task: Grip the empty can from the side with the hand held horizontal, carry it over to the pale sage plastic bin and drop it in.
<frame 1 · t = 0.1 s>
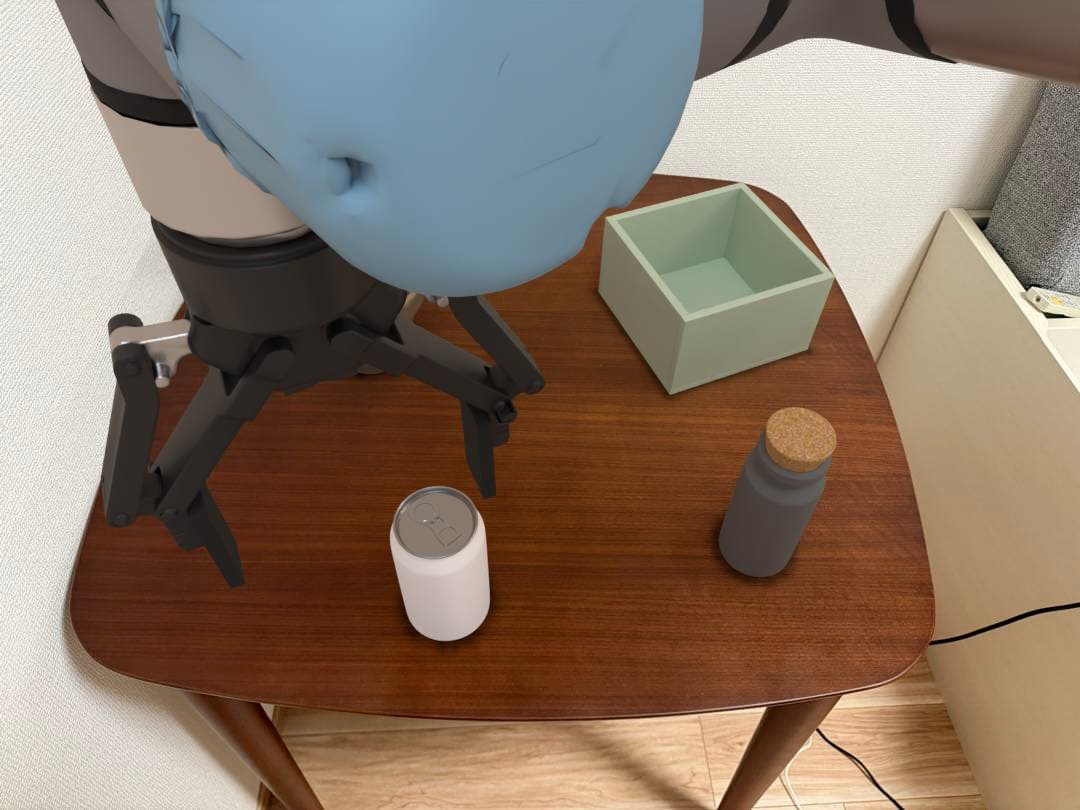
hand: (362, 520, 44), 21 cm above the table, tool pointing down, fingers open, 13 cm apart
bin: (699, 319, 84), on the table
cup: (300, 271, 88), on the table
decorative fruit: (478, 232, 93), on the table
can: (448, 605, 63), on the table
bottle: (753, 547, 67), on the table
flower pot: (374, 354, 80), on the table
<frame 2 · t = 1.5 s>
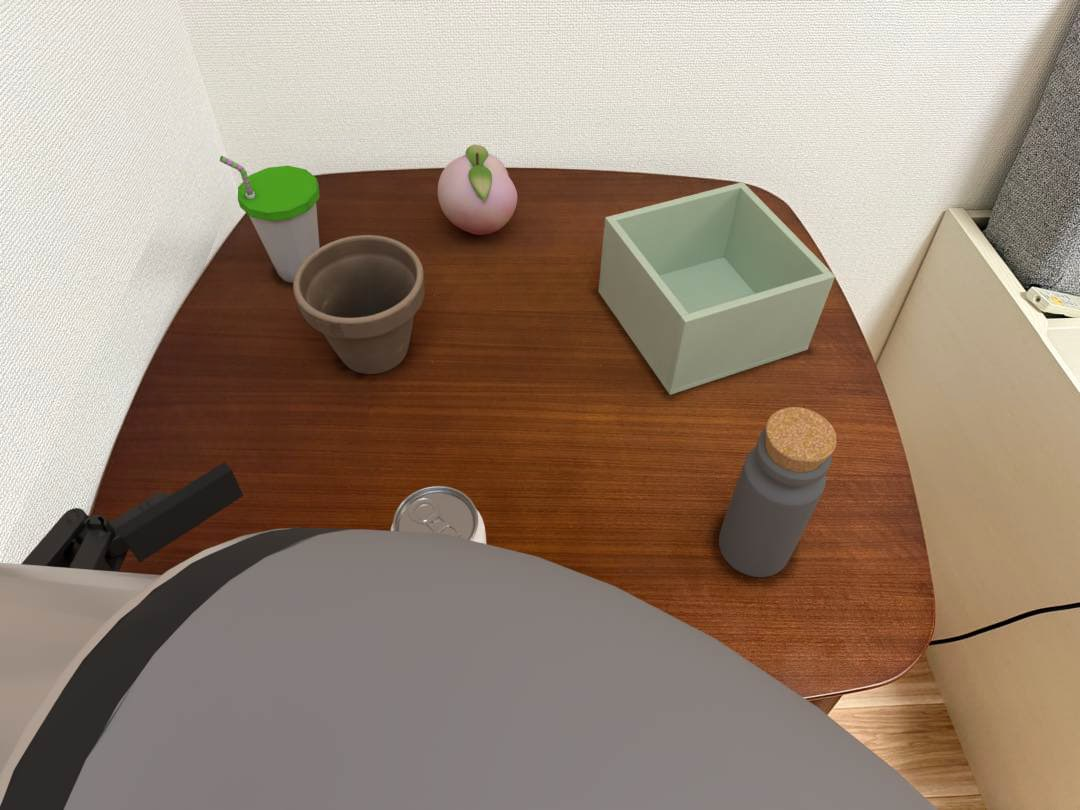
hand: (301, 554, 45), 19 cm above the table, tool horizontal, fingers open, 13 cm apart
nothing on the table moved.
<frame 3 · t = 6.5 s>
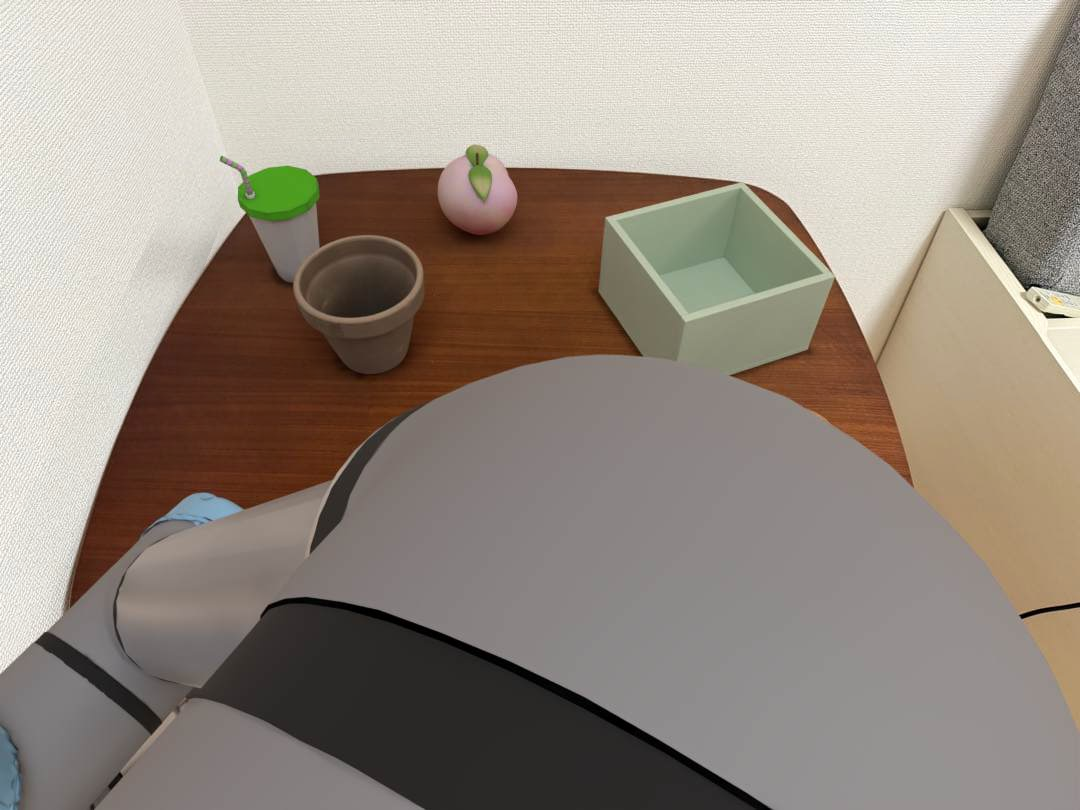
hand: (493, 516, 60), 7 cm above the table, tool horizontal, fingers closed on can, 6 cm apart
can: (448, 605, 63), on the table, touching gripper
everything else where it was.
when the fingers open (16 cm above the table, at t = 15.5 s): can drops 8 cm, resting on bin.
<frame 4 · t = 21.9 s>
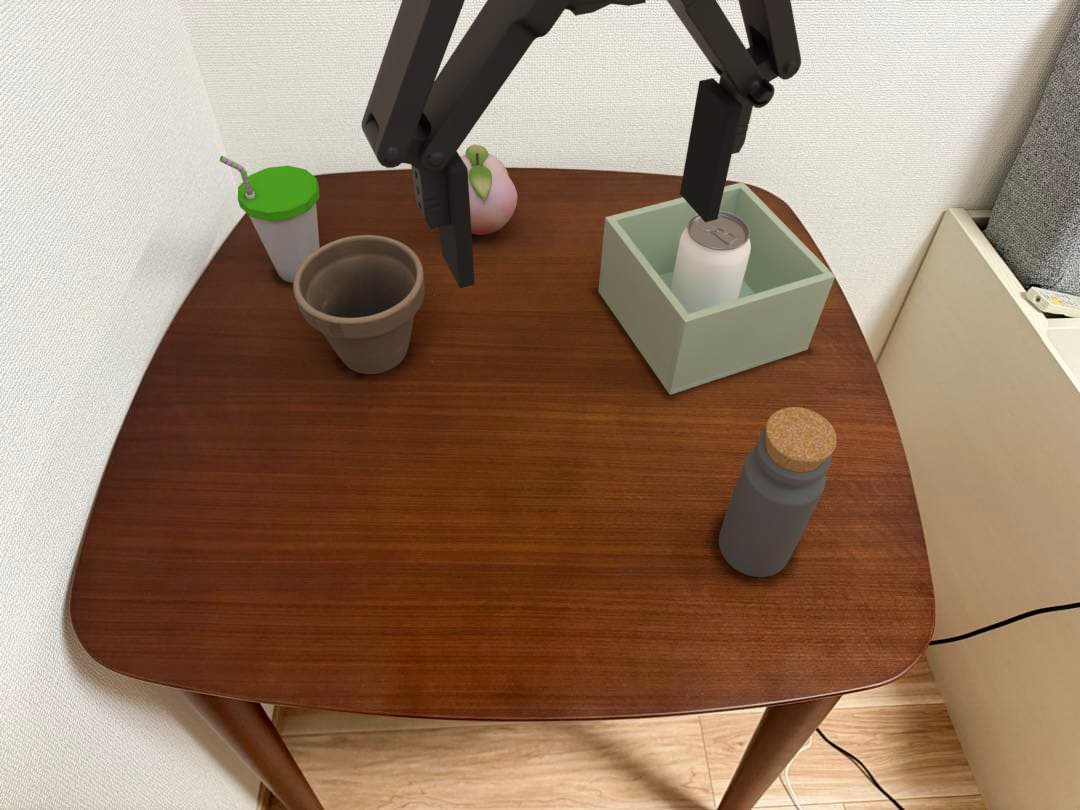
hand: (583, 237, 42), 32 cm above the table, tool pointing down, fingers open, 13 cm apart
can: (696, 326, 83), resting on bin
everything else where it was.
at the end: can inside the target area in the bin (1.6 cm from its centre), point 0.4 cm above the bin's base; the gripper is holding nothing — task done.
